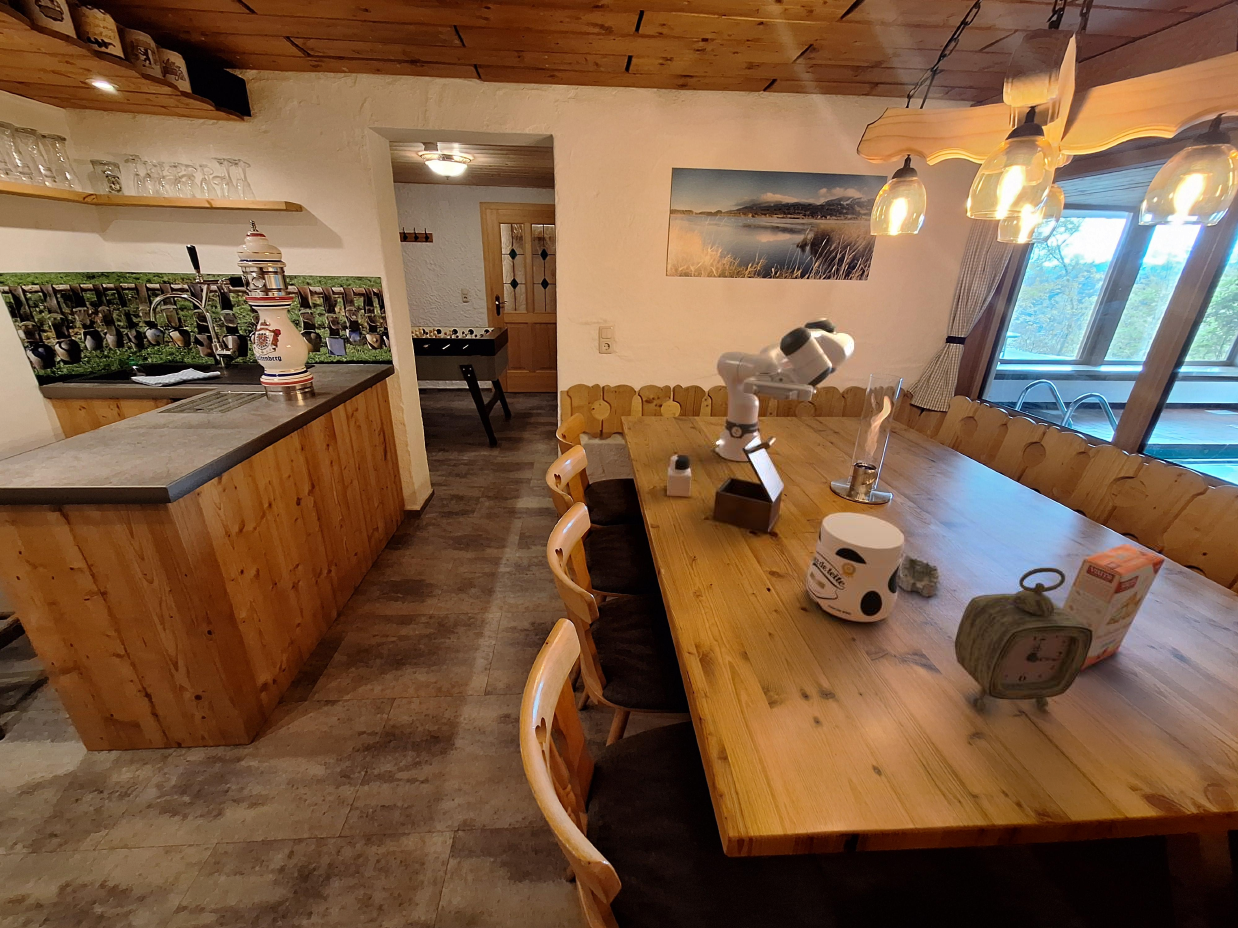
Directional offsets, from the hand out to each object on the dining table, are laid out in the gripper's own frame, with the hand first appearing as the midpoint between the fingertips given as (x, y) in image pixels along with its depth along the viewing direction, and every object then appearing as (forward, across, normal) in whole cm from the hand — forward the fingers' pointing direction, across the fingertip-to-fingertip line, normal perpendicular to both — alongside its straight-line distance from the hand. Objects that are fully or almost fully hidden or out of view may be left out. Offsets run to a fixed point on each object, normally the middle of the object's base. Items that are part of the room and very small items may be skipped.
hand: (771, 394), depth 141 cm
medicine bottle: (+8, +23, -34) cm, 42 cm away
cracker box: (+34, -71, -34) cm, 86 cm away
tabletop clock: (+54, -56, -34) cm, 85 cm away
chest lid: (+14, -4, -18) cm, 23 cm away
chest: (+14, -1, -34) cm, 36 cm away
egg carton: (+25, -44, -34) cm, 60 cm away
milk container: (+42, -31, -34) cm, 62 cm away
